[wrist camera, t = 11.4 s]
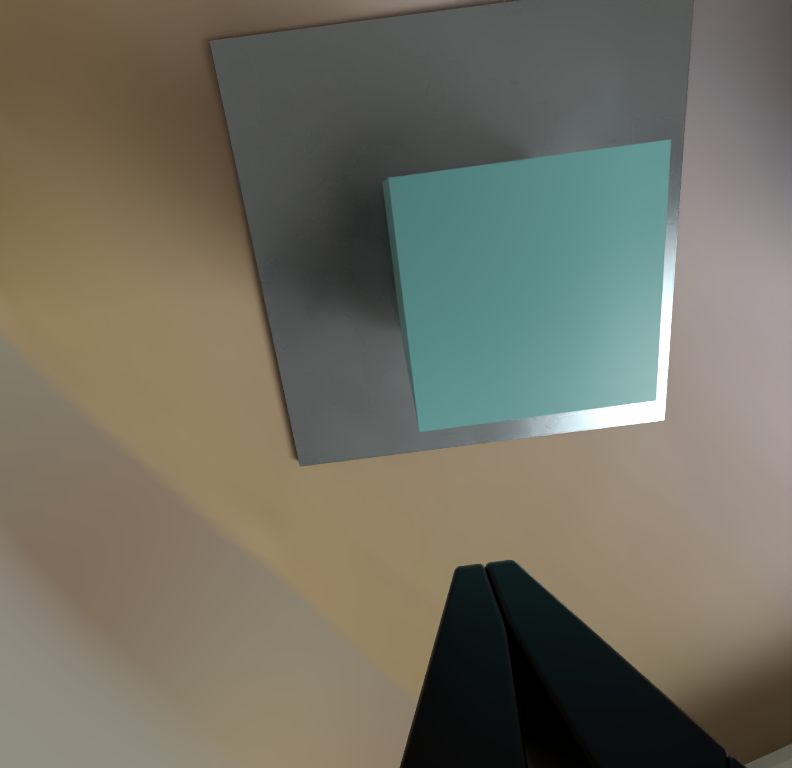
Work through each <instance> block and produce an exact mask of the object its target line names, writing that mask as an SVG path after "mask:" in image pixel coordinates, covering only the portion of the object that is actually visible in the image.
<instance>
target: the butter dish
mask: <svg viewBox="0 0 792 768" xmlns="http://www.w3.org/2000/svg"><path fill="white" fill-rule="evenodd" d="M745 766H746V767H747V768H792V744H790V745H788V746H785V747H783V748H781V749H779V750H777V751H774V752H772V753H770V754H768V755H765V756H763V757H761V758H759V759H756V760H754V761H752V762H750V763H747V764H745Z"/></svg>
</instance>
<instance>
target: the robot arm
mask: <svg viewBox="0 0 792 768" xmlns="http://www.w3.org/2000/svg"><path fill="white" fill-rule="evenodd" d="M400 768H747V767H746V766H745V765H744V764H743V763H742V762H740V761H739V760H738V759H737V758H736V757H735V756H729V757H728V753H727V750H726V749H725V748H724V747H723V746H722V745H721V744H720V743H719V742H718V741H716V740H715V739H714V738H713V737H712V736H711V735H710V734H709V733H708V732H706V731H705V730H704V729H703V728H702V727H701V726H700V725H699V724H697V723H696V722H695V721H694V720H693V719H692V718H691V717H690V716H688V715H687V714H686V713H685V712H684V711H683V710H682V709H681V708H679V707H678V706H677V705H676V704H675V703H674V702H673V701H672V700H670V699H669V698H668V697H667V696H666V695H665V694H664V693H663V692H661V691H660V690H659V689H658V688H657V687H656V686H655V685H654V684H652V683H651V682H650V681H649V680H648V679H647V678H646V677H645V676H643V675H642V674H641V673H640V672H639V671H638V670H637V669H636V668H634V667H633V666H632V665H631V664H630V663H629V662H628V661H627V660H625V659H624V658H623V657H622V656H621V655H620V654H619V653H618V652H616V651H615V650H614V649H613V648H612V647H611V646H610V645H609V644H607V643H606V642H605V641H604V640H603V639H602V638H601V637H600V636H598V635H597V634H596V633H595V632H594V631H593V630H592V629H591V628H589V627H588V626H587V625H586V624H585V623H584V622H583V621H582V620H581V619H579V618H578V617H577V616H576V615H575V614H574V613H573V612H572V611H570V610H569V609H568V608H567V607H566V606H565V605H564V604H563V603H561V602H560V601H559V600H558V599H557V598H556V597H555V596H554V595H552V594H551V593H550V592H549V591H548V590H547V589H546V588H545V587H543V586H542V585H541V584H540V583H539V582H538V581H537V580H536V579H534V578H533V577H532V576H531V575H530V574H529V573H528V572H527V571H525V570H524V569H523V568H522V567H521V566H520V565H519V564H518V563H516V562H515V561H513V560H505V561H497V562H490V563H488V564H486V566H485V567H484V566H483V565H482V564H474V565H466V566H459V567H457V568H456V569H455V571H454V574H453V578H452V582H451V585H450V589H449V592H448V596H447V600H446V603H445V607H444V610H443V614H442V618H441V621H440V625H439V628H438V632H437V635H436V639H435V643H434V646H433V650H432V653H431V657H430V661H429V664H428V668H427V671H426V675H425V679H424V682H423V686H422V689H421V693H420V697H419V700H418V704H417V707H416V711H415V715H414V719H413V722H412V725H411V729H410V733H409V736H408V740H407V744H406V747H405V751H404V754H403V758H402V761H401V765H400Z"/></svg>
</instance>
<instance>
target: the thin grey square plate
mask: <svg viewBox="0 0 792 768" xmlns="http://www.w3.org/2000/svg"><path fill="white" fill-rule="evenodd" d="M693 2H694V0H518V1H511V2H503V3H495V4H487V5H480V6H472V7H464V8H457V9H449V10H441V11H434V12H426V13H418V14H411V15H403V16H395V17H388V18H380V19H372V20H365V21H357V22H349V23H342V24H334V25H326V26H318V27H311V28H303V29H295V30H288V31H280V32H272V33H265V34H257V35H249V36H242V37H234V38H226V39H219V40H211V41H210V46H211V51H212V56H213V60H214V65H215V70H216V74H217V79H218V84H219V88H220V93H221V98H222V103H223V107H224V112H225V117H226V121H227V126H228V131H229V135H230V140H231V145H232V150H233V154H234V159H235V164H236V168H237V173H238V178H239V183H240V187H241V192H242V197H243V201H244V206H245V211H246V215H247V220H248V225H249V230H250V234H251V239H252V244H253V248H254V253H255V258H256V262H257V267H258V272H259V277H260V281H261V286H262V291H263V295H264V300H265V305H266V309H267V314H268V319H269V324H270V328H271V333H272V338H273V342H274V347H275V352H276V356H277V361H278V366H279V371H280V375H281V380H282V385H283V389H284V394H285V399H286V403H287V408H288V413H289V418H290V422H291V427H292V432H293V436H294V441H295V446H296V451H297V455H298V460H299V465H300V466H308V465H316V464H323V463H331V462H339V461H347V460H355V459H363V458H371V457H378V456H386V455H394V454H402V453H410V452H418V451H425V450H433V449H441V448H449V447H457V446H465V445H473V444H480V443H488V442H496V441H504V440H512V439H520V438H528V437H535V436H543V435H551V434H559V433H567V432H575V431H583V430H590V429H598V428H606V427H614V426H622V425H630V424H637V423H645V422H653V421H661V420H664V416H665V402H666V388H667V373H668V359H669V345H670V331H671V316H672V302H673V288H674V273H675V259H676V245H677V231H678V216H679V202H680V188H681V173H682V159H683V145H684V131H685V116H686V102H687V88H688V74H689V59H690V45H691V31H692V16H693ZM663 140H671V150H670V168H669V185H668V203H667V221H666V238H665V256H664V274H663V291H662V309H661V326H660V344H659V362H658V379H657V397H656V401H650V402H642V403H635V404H627V405H620V406H612V407H605V408H597V409H590V410H582V411H574V412H567V413H559V414H552V415H544V416H537V417H529V418H522V419H514V420H507V421H499V422H492V423H484V424H477V425H469V426H462V427H454V428H446V429H439V430H431V431H424V432H419V427H418V422H417V417H416V412H415V406H414V401H413V396H412V391H411V386H410V380H409V375H408V370H407V365H406V359H405V354H404V349H403V343H402V335H401V327H400V319H399V311H398V303H397V295H396V287H395V279H394V272H393V264H392V256H391V248H390V240H389V232H388V224H387V216H386V209H385V201H384V193H383V185H382V181H384V180H386V179H387V178H390V177H398V176H405V175H413V174H420V173H427V172H435V171H442V170H449V169H457V168H464V167H472V166H479V165H486V164H494V163H501V162H508V161H516V160H523V159H531V158H538V157H545V156H553V155H560V154H567V153H575V152H582V151H590V150H597V149H604V148H612V147H619V146H626V145H634V144H641V143H649V142H656V141H663Z"/></svg>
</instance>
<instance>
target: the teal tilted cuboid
mask: <svg viewBox="0 0 792 768" xmlns="http://www.w3.org/2000/svg"><path fill="white" fill-rule="evenodd" d="M670 150H671V140H663V141H656V142H649V143H641V144H634V145H626V146H619V147H612V148H604V149H597V150H590V151H582V152H575V153H567V154H560V155H553V156H545V157H538V158H531V159H523V160H516V161H508V162H501V163H494V164H486V165H479V166H472V167H464V168H457V169H449V170H442V171H435V172H427V173H420V174H413V175H405V176H398V177H390V178H387V179H386V180H384V181H382V185H383V193H384V201H385V209H386V216H387V224H388V232H389V240H390V248H391V256H392V264H393V272H394V279H395V287H396V295H397V303H398V311H399V319H400V327H401V335H402V343H403V349H404V354H405V359H406V365H407V370H408V375H409V380H410V386H411V391H412V396H413V401H414V406H415V412H416V417H417V422H418V427H419V432H424V431H431V430H439V429H446V428H454V427H462V426H469V425H477V424H484V423H492V422H499V421H507V420H514V419H522V418H529V417H537V416H544V415H552V414H559V413H567V412H574V411H582V410H590V409H597V408H605V407H612V406H620V405H627V404H635V403H642V402H650V401H656V397H657V379H658V362H659V344H660V326H661V309H662V291H663V274H664V256H665V238H666V221H667V203H668V185H669V168H670Z"/></svg>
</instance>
